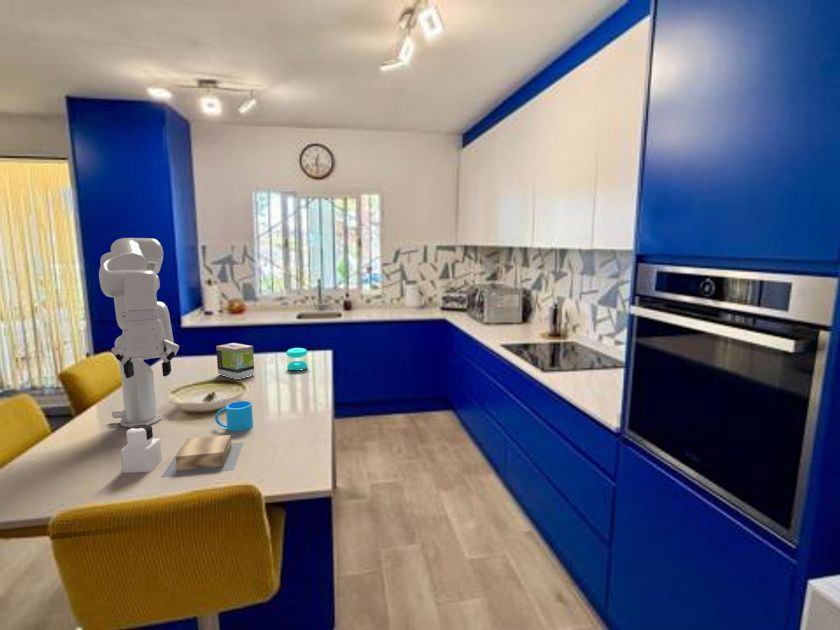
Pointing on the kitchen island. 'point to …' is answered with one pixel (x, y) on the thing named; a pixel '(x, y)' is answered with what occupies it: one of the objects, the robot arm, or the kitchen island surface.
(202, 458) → the oak block
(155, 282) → the robot arm
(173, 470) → the grey square mat
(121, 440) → the kitchen island surface
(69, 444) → the kitchen island surface
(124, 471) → the medicine bottle
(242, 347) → the tea box
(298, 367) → the turquoise hourglass
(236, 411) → the mug
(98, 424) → the kitchen island surface
